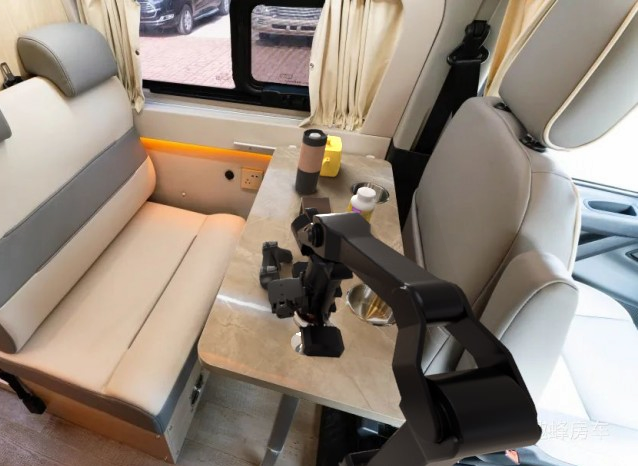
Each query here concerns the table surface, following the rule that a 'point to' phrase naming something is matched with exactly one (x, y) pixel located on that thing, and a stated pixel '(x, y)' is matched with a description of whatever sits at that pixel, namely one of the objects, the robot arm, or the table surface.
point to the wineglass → (302, 321)
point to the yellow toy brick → (331, 157)
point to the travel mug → (310, 160)
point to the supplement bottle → (363, 202)
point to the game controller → (272, 262)
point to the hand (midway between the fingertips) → (307, 330)
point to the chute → (316, 205)
